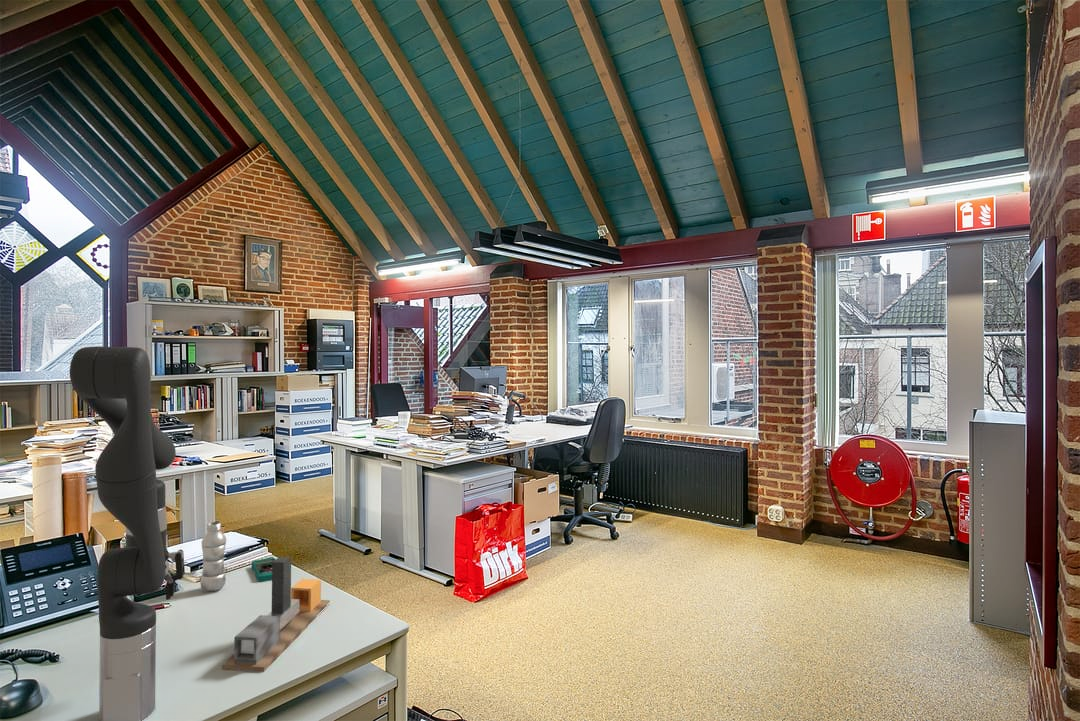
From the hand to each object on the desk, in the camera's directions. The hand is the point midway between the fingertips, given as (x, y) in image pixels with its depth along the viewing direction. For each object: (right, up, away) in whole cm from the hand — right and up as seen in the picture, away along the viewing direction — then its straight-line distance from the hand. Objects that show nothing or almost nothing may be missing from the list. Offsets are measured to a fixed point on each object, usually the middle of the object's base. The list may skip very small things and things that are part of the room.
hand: (146, 600), depth 131 cm
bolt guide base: (+20, -17, +22) cm, 35 cm away
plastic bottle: (-12, -16, +48) cm, 52 cm away
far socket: (+21, -16, +36) cm, 45 cm away
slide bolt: (+20, -15, +17) cm, 30 cm away
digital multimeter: (-2, -17, +62) cm, 64 cm away
